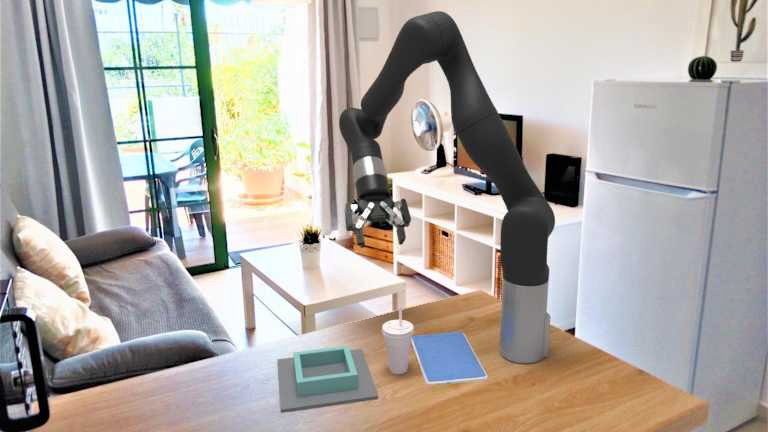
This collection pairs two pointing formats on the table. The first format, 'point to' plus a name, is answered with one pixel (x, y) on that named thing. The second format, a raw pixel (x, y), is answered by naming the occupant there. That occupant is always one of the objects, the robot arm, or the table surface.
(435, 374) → the tablet computer
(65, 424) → the table surface
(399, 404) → the table surface
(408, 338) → the smoothie
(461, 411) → the table surface
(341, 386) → the holder
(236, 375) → the table surface
